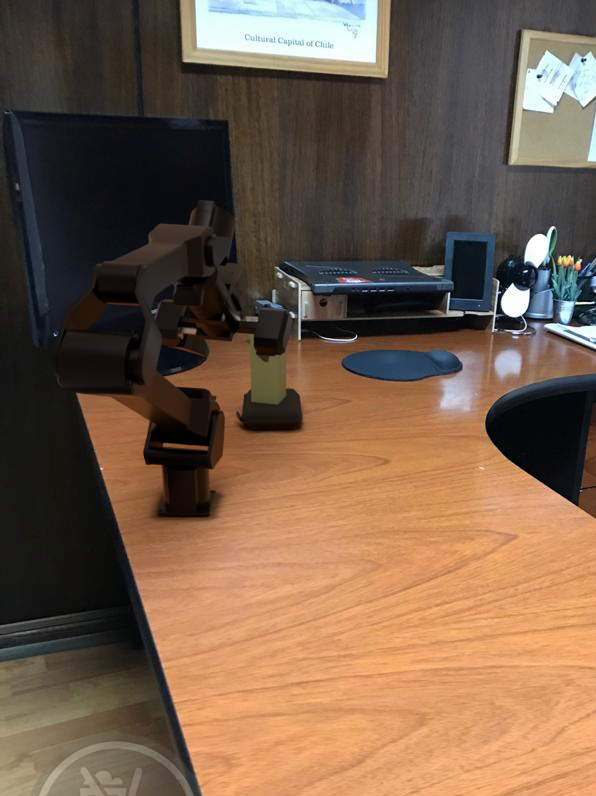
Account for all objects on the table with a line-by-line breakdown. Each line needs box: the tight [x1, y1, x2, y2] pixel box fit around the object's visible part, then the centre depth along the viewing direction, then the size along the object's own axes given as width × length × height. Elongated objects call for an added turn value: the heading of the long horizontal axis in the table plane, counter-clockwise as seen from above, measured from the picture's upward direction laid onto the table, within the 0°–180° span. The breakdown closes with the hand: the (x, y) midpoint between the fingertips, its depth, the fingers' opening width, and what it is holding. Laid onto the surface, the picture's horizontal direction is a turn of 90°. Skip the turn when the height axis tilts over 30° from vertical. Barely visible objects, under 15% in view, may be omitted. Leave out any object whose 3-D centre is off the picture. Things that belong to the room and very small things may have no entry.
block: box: [249, 334, 287, 405], centre depth 126 cm, size 5×5×13 cm
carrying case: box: [235, 387, 303, 430], centre depth 129 cm, size 11×3×15 cm
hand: (237, 356), depth 114 cm, fingers open, 9 cm apart
